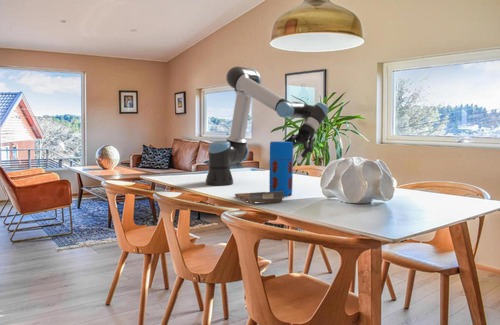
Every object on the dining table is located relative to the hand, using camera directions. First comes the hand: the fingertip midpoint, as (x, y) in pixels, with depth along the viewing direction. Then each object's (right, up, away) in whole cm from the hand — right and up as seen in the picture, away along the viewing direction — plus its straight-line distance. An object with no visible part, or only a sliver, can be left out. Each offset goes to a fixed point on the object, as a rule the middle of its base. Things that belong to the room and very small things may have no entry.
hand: (286, 161), depth 208 cm
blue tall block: (-3, -16, +1) cm, 16 cm away
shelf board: (-14, -17, -12) cm, 25 cm away
